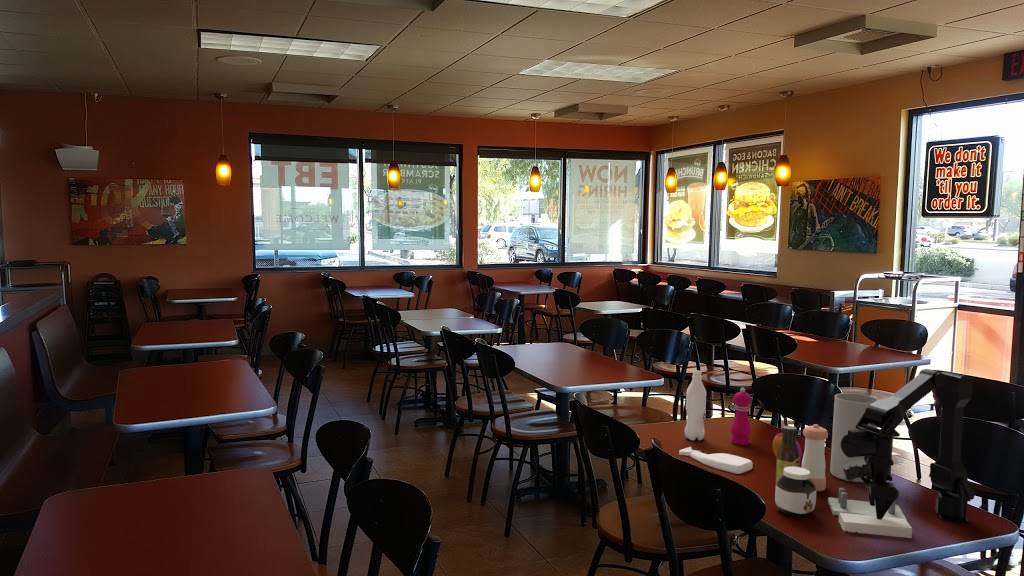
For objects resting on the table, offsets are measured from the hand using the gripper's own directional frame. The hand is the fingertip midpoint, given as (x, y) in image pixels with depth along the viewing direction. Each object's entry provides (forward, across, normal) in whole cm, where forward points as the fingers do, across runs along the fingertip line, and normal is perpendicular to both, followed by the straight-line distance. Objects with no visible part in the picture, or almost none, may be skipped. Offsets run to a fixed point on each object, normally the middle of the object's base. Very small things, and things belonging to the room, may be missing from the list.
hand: (875, 512), depth 189 cm
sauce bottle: (+5, -19, -20) cm, 28 cm away
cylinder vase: (+5, -42, +1) cm, 42 cm away
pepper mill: (+5, -67, -32) cm, 74 cm away
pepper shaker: (+5, -28, -12) cm, 31 cm away
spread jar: (+5, -8, -19) cm, 21 cm away
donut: (+5, -48, -18) cm, 51 cm away
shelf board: (+5, 0, 0) cm, 5 cm away
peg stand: (+5, -12, 0) cm, 13 cm away
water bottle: (+5, -66, -48) cm, 82 cm away
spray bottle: (+5, -42, -41) cm, 59 cm away
